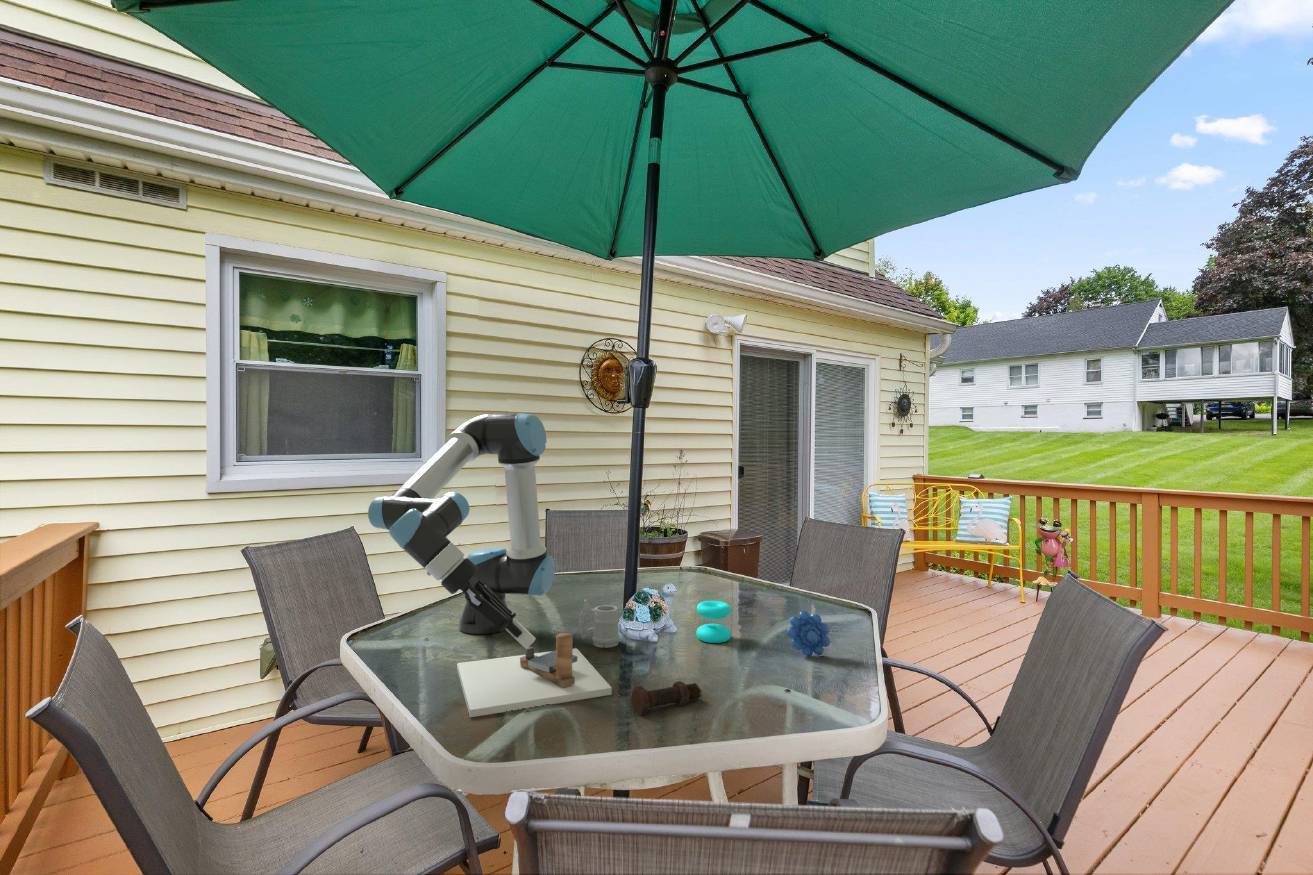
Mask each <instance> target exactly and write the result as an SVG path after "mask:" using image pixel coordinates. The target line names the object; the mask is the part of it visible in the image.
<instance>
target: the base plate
mask: <svg viewBox="0 0 1313 875" xmlns="http://www.w3.org/2000/svg"><path fill="white" fill-rule="evenodd" d="M550 652H552V651H544V652H543V651H542V652H534V655H536V656H538V657H539V656H541V655H544V654H547V653H550ZM572 655H575V656H577V662H574V663H572V676H573V677H575V683H574V684H573V685H569V686H566V687H561V686H560V685H558V684H556V683H554V682H552V681H551V680H549V679H547V678H545V677H543V676H542V675H540V674H538V673H536V672H534V671H533V670H531V669H529V668H525V667H522V666H520V657H523V656H526V654H520V655H511V656H506V657H504V656H503V657H497V658H496V657H495V658H487V659H480V660H471V661H465V662H457V663H456V671H457V674H458V677H459V682H460V685H461V690H462V694H463V697H464V701H465V704H466V708H467V712H468V715H469V716H468V717H469V718H474V717H481V716H488V715H493V714H499V713H500V714H501V713H505V712H506V711H507V712H512V711H511V710H513V711H517V710H518V709H519V710H523V709H522V708H525V709H530V708H529V707H532V708H535V707H534V706H538V707H543V706H542V705H544V706H546V705H545V704H550V705H554V704H556V705H557V704H562V703H563V704H564V703H570V702H574V701H580V700H586V699H593V698H598V697H599V698H600V697H604V696H605V697H606V696H611V695H612V694H613V692H612V686H611V685H610V684H609V683H608V681H606V679H604V677H603V676H602V675H601V674H600V673H599V671H597V669H595V667H594V666H593V665H592V664H591V662H589V661H588V659H587V658H586V657H585V656H584V655H583V653H581V651H580V650H579V649H578V648H576V647H575V648H572ZM519 710H518V711H519Z"/></svg>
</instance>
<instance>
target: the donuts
mask: <svg viewBox="0 0 1313 875" xmlns="http://www.w3.org/2000/svg"><path fill="white" fill-rule="evenodd" d="M731 612H732V607H731V605H730V604H729V603H727V602H724V601H720V600H705V601H704V600H703V601H701V602H699V603H698V604H697V606H696V613H698V615H699V616H700V617H701V618H705V619H709V620H722V619H725V618H727V617H728V616H730V614H731ZM695 632H696V633H695V634H696V637H697V639H699V640H700V641H702V642H704V643H710V644H722V642H723V643H726V642H729V640H730V639H731V637H732V632H731V630H730V628H728V627H727V626H725V625H723V624H719V623H705V624H703V625H700V626H699V627H698V628H697V629H696V631H695Z"/></svg>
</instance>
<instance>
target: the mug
mask: <svg viewBox="0 0 1313 875" xmlns="http://www.w3.org/2000/svg"><path fill="white" fill-rule="evenodd" d="M590 606H591V604H590V603H589V601H588V600H587V599H584V600H583V607H582V610H581V611H580V615H579V617H578V621H577V624H578V625H577V626H578V627H577V629H578V630H577V631H578V634H579V635H580V637H581V639H582V640H585V639H586V637H588V636H589V635H592V636H591V640H592V645H593V646H594V647H596V648H600V649H604V648H605V649H609V648H610V649H611V648H614V647H616V646H618V645H619V641H620V636H621V635H620V634H619V623H620V618H619V611H618V610H619V609H618V607H617V606H615V605H599V606H595V607H594V608H591V607H590ZM589 614H594V616H593V622H592V623H593V627H592V626H591V627H590V628H587V627H586V625H585V622H586V617H587V616H588V615H589Z"/></svg>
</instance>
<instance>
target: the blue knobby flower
mask: <svg viewBox="0 0 1313 875" xmlns="http://www.w3.org/2000/svg"><path fill="white" fill-rule="evenodd" d="M789 623H790V625H791V626H789V627H788V628H787V630H786V633H787V636H788V637H789V638H790V639H792V640H791V646H792V648H793V649H794V650H796V651H800V650H801V652H802V655H804V656H805V655H806V656H805V657H808V656H810V657H812V656H811V655H813V654H815V655H816V654H817V655H816V656H821V655H822V656H823V654H824V651H825V650H824V647H825V648H827V647H829V646H830V645H831V640H830V638H829V637H828V635H829V633H830V627H829V626H828V625H827V624H826V623H823V622H822V617H821V616H820V615H819V614H817V613H813V614H810V612H808V611H805V610H802V611H801V610H800V612H799V614H798V616H797V615H793V616H791V617H790V619H789Z"/></svg>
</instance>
